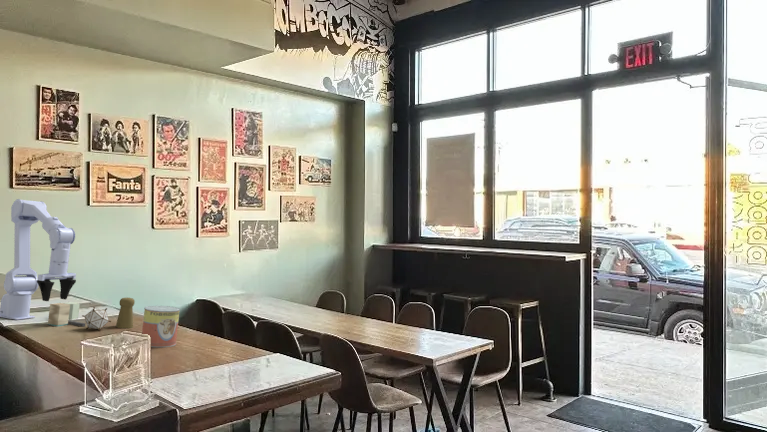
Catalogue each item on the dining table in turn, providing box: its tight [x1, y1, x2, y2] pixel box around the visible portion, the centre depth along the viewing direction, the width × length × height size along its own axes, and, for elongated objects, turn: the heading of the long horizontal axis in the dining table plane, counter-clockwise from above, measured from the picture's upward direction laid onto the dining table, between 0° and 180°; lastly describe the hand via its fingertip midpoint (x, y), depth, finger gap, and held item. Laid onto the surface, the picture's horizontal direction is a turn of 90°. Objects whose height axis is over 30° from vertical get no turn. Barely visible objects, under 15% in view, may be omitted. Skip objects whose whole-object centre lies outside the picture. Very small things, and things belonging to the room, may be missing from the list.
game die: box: [81, 306, 112, 332], centre depth 202 cm, size 9×8×10 cm
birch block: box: [47, 302, 70, 327], centre depth 205 cm, size 4×4×8 cm
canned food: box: [141, 305, 181, 348], centre depth 190 cm, size 11×11×12 cm
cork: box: [115, 297, 136, 329], centre depth 212 cm, size 6×6×11 cm
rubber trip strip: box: [68, 320, 86, 327], centre depth 208 cm, size 16×1×1 cm, turn 74°
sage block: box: [63, 301, 81, 321], centre depth 218 cm, size 4×4×6 cm
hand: (54, 300), depth 198 cm, fingers open, 7 cm apart
